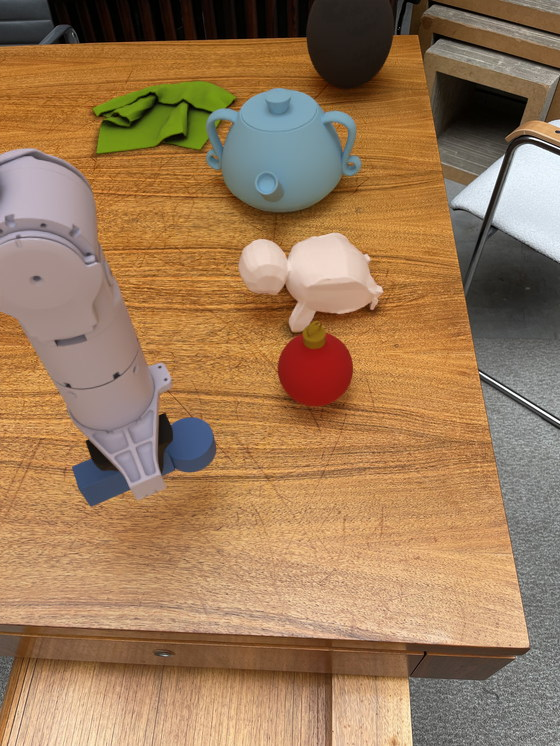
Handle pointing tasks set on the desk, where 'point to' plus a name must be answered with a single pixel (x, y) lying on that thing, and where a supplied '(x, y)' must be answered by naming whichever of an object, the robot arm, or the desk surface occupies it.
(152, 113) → the cloth
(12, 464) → the desk surface
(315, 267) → the white animal figurine
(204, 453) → the blue long-handled part
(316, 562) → the desk surface
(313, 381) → the christmas ornament
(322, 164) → the teapot
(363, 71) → the decorative egg
